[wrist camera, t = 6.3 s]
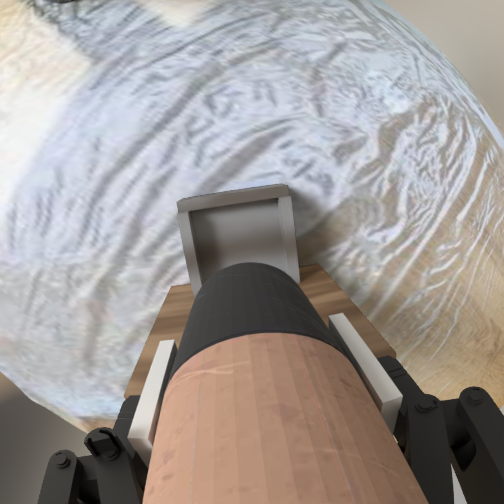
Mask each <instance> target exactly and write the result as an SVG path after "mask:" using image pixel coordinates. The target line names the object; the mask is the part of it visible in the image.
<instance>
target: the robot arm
mask: <svg viewBox="0 0 504 504" xmlns="http://www.w3.org/2000/svg"><path fill="white" fill-rule="evenodd" d="M49 1H51V2H55V3H64V2H69V1H72V0H49ZM328 319H329V330H330V332H331V333H332V335H333V336H334V338H335V339H336V341H337V342H338V344H339V345H340V347H341V348H342V350H343V351H344V353H345V354H346V356H347V357H348V359H349V360H350V362H351V363H352V365H353V366H354V368H355V369H356V371H357V373H358V375H359V376H360V378H361V380H362V382H363V383H364V385H365V387H366V389H367V390H368V392H369V394H370V396H371V397H372V399H373V401H374V403H375V405H376V406H377V408H378V410H379V412H380V413H381V415H382V417H383V419H384V421H385V423H386V424H387V426H388V428H389V430H390V432H391V433H392V435H394V436H395V438H396V440H397V441H398V443H397V444H398V446H399V448H400V450H401V452H402V454H403V456H404V457H405V459H406V461H407V463H408V465H409V467H410V469H411V471H412V472H413V474H414V476H415V478H416V480H417V482H418V484H419V486H420V488H421V490H422V492H423V494H424V496H425V497H426V499H427V501H428V503H429V504H454V492H453V480H452V469H451V464H452V467H453V469H454V471H455V474H456V476H457V479H458V481H459V483H460V486H461V489H462V491H463V494H464V496H465V499H466V502H467V504H504V416H503V414H502V413H501V411H500V410H499V408H498V407H497V405H496V404H495V402H494V401H493V399H492V398H491V397H490V395H489V394H488V393H487V392H486V391H485V390H484V389H482V388H480V387H468V388H466V389H464V390H463V391H462V392H461V394H460V396H459V398H458V399H451V400H444V401H440V400H439V399H438V398H436V397H435V396H433V395H430V394H424V393H423V392H422V390H421V389H420V388H419V387H418V385H417V384H416V383H415V382H414V380H413V379H412V378H411V376H410V375H409V374H407V371H406V370H405V369H403V366H402V365H401V364H400V363H399V361H398V360H396V359H395V358H393V357H391V356H389V355H387V356H383V357H380V358H375V356H374V355H373V353H372V352H371V351H370V349H369V348H368V346H367V345H366V344H365V342H364V341H363V340H362V338H361V337H360V336H359V334H358V333H357V331H356V330H355V329H354V327H353V326H352V325H351V323H350V322H349V321H348V319H347V318H346V317H345V315H344V314H343V313H340V314H335V315H330V316H328ZM177 351H178V350H177V346H176V343H175V340H164V341H160V343H159V346H158V348H157V351H156V354H155V357H154V359H153V362H152V365H151V368H150V371H149V374H148V376H147V379H146V382H145V385H144V388H143V391H142V394H141V395H130V396H129V397H128V398H127V399H126V400H125V401H124V402H123V404H122V407H121V409H120V413H119V415H118V417H117V418H118V419H117V420H116V423H115V425H114V428H113V430H112V429H111V428H107V427H102V428H97V429H94V430H92V431H91V432H90V433H88V435H87V437H86V438H85V441H84V444H85V445H86V447H87V448H88V450H89V451H90V452H91V454H92V455H90V456H84V457H77V456H76V455H75V454H74V453H73V452H71V451H69V450H60V451H58V452H56V453H54V454H53V455H52V456H51V458H50V460H49V463H48V466H47V470H46V473H45V477H44V480H43V484H42V487H41V491H40V495H39V499H38V503H37V504H142V503H143V497H144V491H145V486H146V480H147V475H148V470H149V465H150V459H151V454H152V449H153V444H154V440H155V435H156V430H157V425H158V421H159V416H160V412H161V407H162V403H163V398H164V394H165V391H166V387H167V383H168V380H169V377H170V373H171V370H172V367H173V364H174V361H175V357H176V354H177Z"/></svg>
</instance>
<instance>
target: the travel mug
mask: <svg viewBox="0 0 504 504" xmlns="http://www.w3.org/2000/svg"><path fill="white" fill-rule="evenodd" d="M142 504H429V503H428V501H427V499H426V497H425V496H424V494H423V492H422V490H421V488H420V486H419V484H418V482H417V480H416V478H415V476H414V474H413V472H412V471H411V469H410V467H409V465H408V463H407V461H406V459H405V457H404V456H403V454H402V452H401V450H400V448H399V446H398V444H397V443H396V441H395V439H394V437H393V435H392V433H391V432H390V430H389V428H388V426H387V424H386V423H385V421H384V419H383V417H382V415H381V413H380V412H379V410H378V408H377V406H376V405H375V403H374V401H373V399H372V397H371V396H370V394H369V392H368V390H367V389H366V387H365V385H364V383H363V382H362V380H361V378H360V376H359V375H358V373H357V371H356V369H355V368H354V366H353V365H352V363H351V362H350V360H349V359H348V357H347V356H346V354H345V353H344V351H343V350H342V348H341V347H340V345H339V344H338V342H337V341H336V339H335V338H334V336H333V335H332V333H331V332H330V330H329V329H328V327H327V326H326V324H325V323H324V321H323V320H322V318H321V317H320V315H319V314H318V312H317V311H316V309H315V308H314V307H313V305H312V304H311V302H310V301H309V299H308V298H307V296H306V295H305V293H304V292H303V291H302V289H301V288H300V287H299V285H298V284H297V283H296V282H295V281H294V280H293V279H292V277H290V276H289V275H288V274H287V273H285V272H284V271H282V270H280V269H279V268H276V267H274V266H271V265H268V264H264V263H257V262H246V263H239V264H234V265H231V266H228V267H226V268H224V269H222V270H220V271H218V272H217V273H215V274H214V275H212V276H211V277H210V278H209V279H208V280H207V281H206V282H205V283H204V284H203V286H202V287H201V288H200V290H199V292H198V293H197V295H196V298H195V300H194V303H193V305H192V308H191V311H190V314H189V317H188V320H187V323H186V326H185V329H184V332H183V335H182V338H181V342H180V345H179V348H178V351H177V354H176V357H175V361H174V364H173V367H172V370H171V373H170V377H169V380H168V383H167V387H166V391H165V394H164V398H163V403H162V407H161V412H160V416H159V421H158V425H157V430H156V435H155V440H154V444H153V449H152V454H151V459H150V465H149V470H148V475H147V480H146V486H145V491H144V497H143V503H142Z"/></svg>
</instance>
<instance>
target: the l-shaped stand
mask: <svg viewBox="0 0 504 504" xmlns="http://www.w3.org/2000/svg"><path fill="white" fill-rule="evenodd" d="M177 207H178V214H177V217H178V222H179V228H180V233H181V238H182V244H183V249H184V254H185V259H186V263H187V268H188V273H189V278H190V282H191V284H185V285H177V286H171V288H170V290H169V292H168V294H167V297H166V299H165V301H164V303H163V305H162V307H161V310H160V312H159V314H158V316H157V318H156V321H155V323H154V325H153V327H152V330H151V332H150V334H149V336H148V339H147V341H146V343H145V346H144V348H143V350H142V353H141V355H140V357H139V360H138V362H137V364H136V367H135V369H134V372H133V374H132V376H131V379H130V381H129V384H128V386H127V389H126V391H125V394H124V397H125V399H127V398H128V397H129V396H130V395H141V394H142V391H143V388H144V385H145V382H146V379H147V376H148V374H149V371H150V368H151V365H152V362H153V359H154V357H155V354H156V351H157V348H158V346H159V343H160V341H164V340H175V343H176V346H177V350H178V348H179V345H180V342H181V338H182V335H183V332H184V329H185V326H186V323H187V320H188V317H189V314H190V311H191V308H192V305H193V303H194V300H195V298H196V295H197V293H198V292H199V290H200V288H201V287H202V286H203V284H204V283H205V282H206V281H207V280H208V279H209V278H210V277H211V276H212V275H214V274H215V273H217V272H218V271H220V270H222V269H224V268H226V267H228V266H231V265H234V264H239V263H246V262H257V263H264V264H268V265H271V266H274V267H276V268H279V269H280V270H282V271H284V272H285V273H287V274H288V275H289V276H290V277H292V279H293V280H294V281H295V282H296V283H297V284H298V285H299V287H300V288H301V289H302V291H303V292H304V293H305V295H306V296H307V298H308V299H309V301H310V302H311V304H312V305H313V307H314V308H315V309H316V311H317V312H318V314H319V315H320V317H321V318H322V320H323V321H324V323H325V324H326V326H327V327H328V329H329V319H328V316H330V315H335V314H340V313H343V314H344V315H345V317H346V318H347V319H348V321H349V322H350V323H351V325H352V326H353V327H354V329H355V330H356V331H357V333H358V334H359V336H360V337H361V338H362V340H363V341H364V342H365V344H366V345H367V346H368V348H369V349H370V351H371V352H372V353H373V355H374V356H375V358H380V357H383V356H387V355H389V356H391V357H393V358H395V359H396V352H395V351H394V350H393V349H392V347H391V346H390V345H389V344H388V343H387V341H386V340H385V339H384V338H383V337H382V336H381V334H380V333H379V332H378V331H377V330H376V328H375V327H374V326H373V325H372V324H371V323H370V321H369V320H368V319H367V318H366V317H365V316H364V315H363V313H362V312H361V311H360V310H359V309H358V308H357V306H356V305H355V304H354V303H353V302H352V301H351V300H350V298H349V297H348V296H347V295H346V294H345V293H344V292H343V290H342V289H341V288H340V287H339V286H338V285H337V284H336V283H335V281H334V280H333V279H332V278H331V277H330V276H329V275H328V274H327V273H326V271H325V270H324V269H323V268H322V267H321V266H320V265H319V264H314V265H308V266H302V267H299V266H298V256H297V246H296V236H295V227H294V218H293V209H292V201H291V197H290V196H289V190H288V185H285V184H274V185H266V186H259V187H252V188H245V189H238V190H231V191H225V192H219V193H212V194H206V195H200V196H194V197H189V198H183V199H181V200H180V201H178V202H177Z"/></svg>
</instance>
